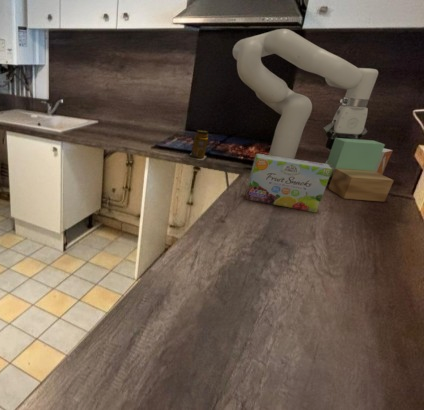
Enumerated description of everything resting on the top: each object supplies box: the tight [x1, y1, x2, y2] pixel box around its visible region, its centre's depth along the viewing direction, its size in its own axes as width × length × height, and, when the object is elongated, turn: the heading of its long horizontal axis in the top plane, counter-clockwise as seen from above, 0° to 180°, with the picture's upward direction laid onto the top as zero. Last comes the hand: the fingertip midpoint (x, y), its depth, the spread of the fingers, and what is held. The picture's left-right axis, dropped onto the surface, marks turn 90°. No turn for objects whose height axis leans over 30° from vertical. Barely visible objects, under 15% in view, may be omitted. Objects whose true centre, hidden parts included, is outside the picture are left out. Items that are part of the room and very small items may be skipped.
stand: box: [328, 168, 395, 203], centre depth 129 cm, size 10×14×8 cm
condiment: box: [187, 129, 209, 161], centre depth 162 cm, size 7×8×12 cm
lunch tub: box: [326, 133, 386, 171], centre depth 135 cm, size 10×14×12 cm
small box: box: [366, 147, 393, 175], centre depth 145 cm, size 8×6×13 cm
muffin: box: [324, 160, 335, 178], centre depth 147 cm, size 6×6×7 cm
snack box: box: [245, 153, 332, 213], centre depth 116 cm, size 21×6×15 cm, turn 68°
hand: (338, 148), depth 142 cm, fingers open, 6 cm apart
